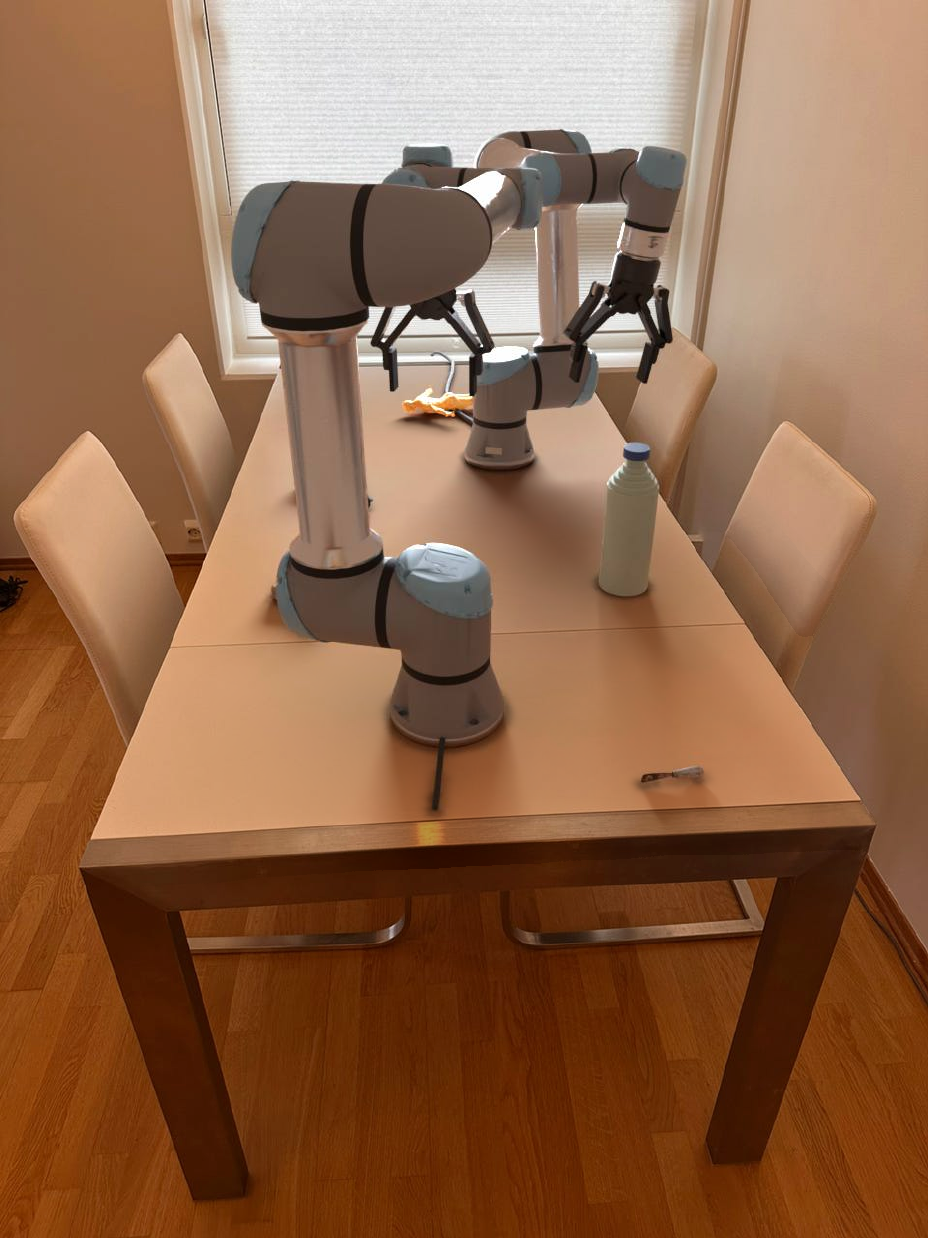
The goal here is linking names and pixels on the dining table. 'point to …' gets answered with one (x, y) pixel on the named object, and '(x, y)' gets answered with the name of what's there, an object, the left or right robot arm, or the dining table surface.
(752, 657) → the dining table surface
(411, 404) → the human figure
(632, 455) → the cap
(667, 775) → the putty knife
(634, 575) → the bottle
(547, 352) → the right robot arm
